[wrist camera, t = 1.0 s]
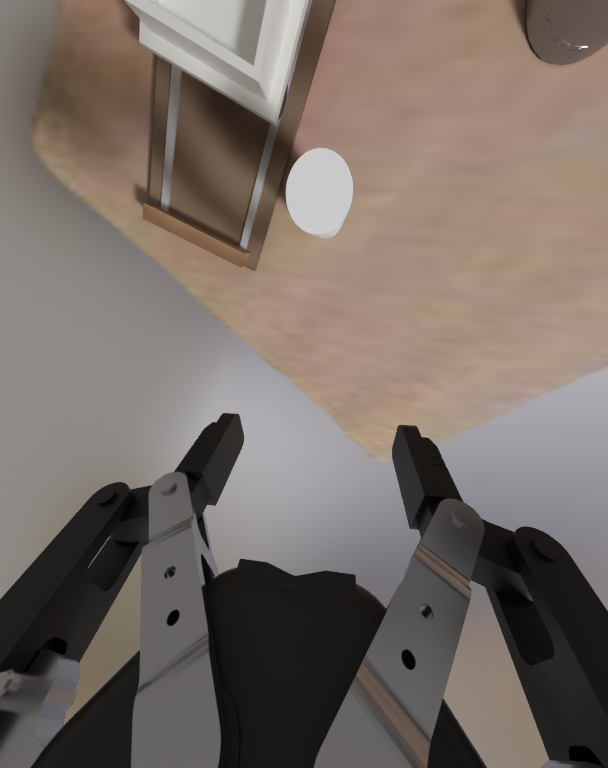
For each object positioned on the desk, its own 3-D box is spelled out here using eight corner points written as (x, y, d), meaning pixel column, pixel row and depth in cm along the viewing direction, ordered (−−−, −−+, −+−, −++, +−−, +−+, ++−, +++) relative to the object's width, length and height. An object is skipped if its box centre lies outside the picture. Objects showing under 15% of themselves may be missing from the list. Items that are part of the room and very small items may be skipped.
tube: (350, 205, 27) (366, 169, 14) (333, 244, 29) (333, 245, 16) (316, 186, 26) (301, 132, 13) (302, 228, 28) (276, 216, 16)
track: (180, -200, 16) (147, -297, 13) (356, -68, 18) (360, -127, 15) (153, 218, 29) (134, 216, 27) (255, 269, 31) (247, 272, 28)
